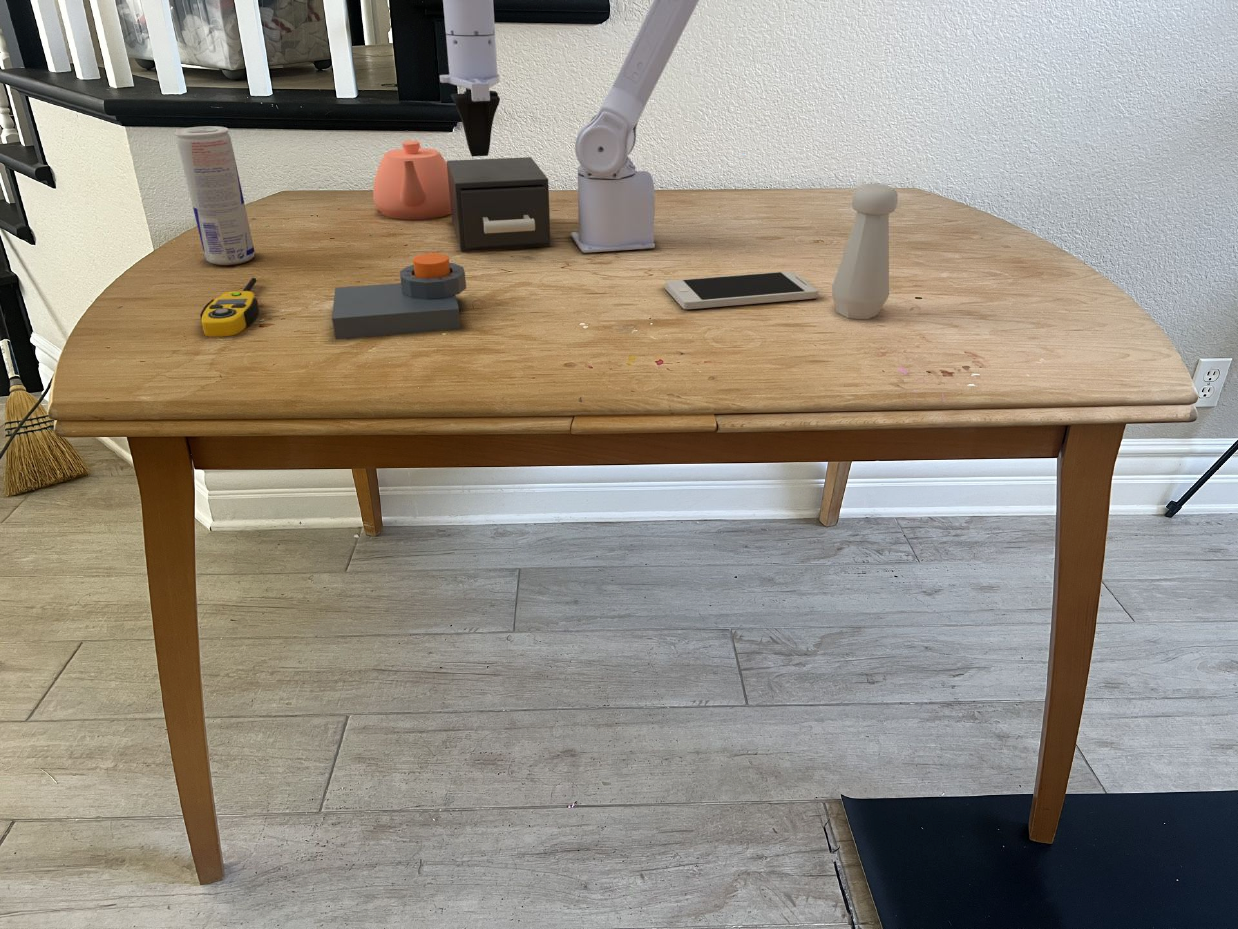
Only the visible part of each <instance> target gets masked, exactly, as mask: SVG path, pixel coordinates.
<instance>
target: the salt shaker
mask: <svg viewBox="0 0 1238 929" xmlns="http://www.w3.org/2000/svg"><path fill="white" fill-rule="evenodd" d="M898 200H899V199H898V192H897V190H896V189H895V188H894V187H892V186H890V185H886V184H882V183H865V184H861V185H859V186H857V187H856V188H855V189H854V191H853V195H852V200H851V206H852V209H853V210H854V211H856V215H855V218H854V220H853V224H852V226H851V230H850V234H849V236H848V240H847V243H846V246H845V247H844V251H843V254H842V257H841V259H840V263H839V265H838V268H837V271H836V274H835V277H834V280H833V283H832V286H831V296H832V300H833V304H834V307H835V310H836V313H837V314H839V315H841V316H843V317H845V318H847V319H855V320H869V319H871V318H874V317H876V316H878V314H879V313H880V311H881V310H882V309H883V307H884V305H885V304H886V302H887V301H888V299H889V296H890V221H889V220H890V214H891V213H893V212H895V211H896V209H897V205H898V202H899V201H898Z"/></svg>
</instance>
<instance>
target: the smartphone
mask: <svg viewBox="0 0 1238 929" xmlns="http://www.w3.org/2000/svg"><path fill="white" fill-rule="evenodd" d="M664 289H665V290H666V291H667V292H668V293H669V295H670V296H671V297H673V299H674V300H675V301H676V302H677V303H678V304H679V306H680V307H681V308H682V309H683V310H694V309H695V310H697V309H706V308H707V309H708V308H719V307H729V306H730V307H731V306H742V305H743V306H744V305H753V304H754V305H755V304H765V303H776V302H789V301H798V300H799V301H800V300H801V301H802V300H810V299H812V300H813V299H817V298H818V295H819V290H818V289H817V288H816V287H814V286H813V285H812V284H810V283H809V282H808V281H806V280H805V279H804V278H802V277H801V276H800V275H798V274H797V273H796V272H794V271H791V270H787V271H774V272H773V271H772V272H762V273H749V274H748V273H747V274H735V275H723V276H710V277H698V278H696V277H695V278H685V279H673V280H665V284H664Z"/></svg>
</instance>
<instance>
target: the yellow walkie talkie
mask: <svg viewBox="0 0 1238 929" xmlns="http://www.w3.org/2000/svg"><path fill="white" fill-rule="evenodd" d="M256 283H257V278H256V277H251V278H250V279H249V282H248V283H247V284H246V285H245V287H244V288H243V290H238V291H237V290H234V291H227V292H224V293H222V294H221V295H219V296H217V297H216V298H215V299H214V298H212V299H211V300H210V301H208V302H207V303H206V305H205V306H203V308H202V310H201V312H200V315H199V316H200V322H201V327H202V330H203V333H204V335H205V336H206V337H211V338H217V337H218V338H219V337H221V338H222V337H223V338H224V337H232V336H235V335H237V334H239V333H241V332H242V331H244V330H245V329H247V328H249V327H251V325H252V324H254V322H255V321H256V320H257V318H258V315H259V306H258V305H259V302H258V299H257V298H256V296H255V293H254V292H253V291H251V290H252V289H253V287H254V286H255V284H256Z"/></svg>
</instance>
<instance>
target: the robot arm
mask: <svg viewBox="0 0 1238 929" xmlns="http://www.w3.org/2000/svg"><path fill="white" fill-rule="evenodd" d="M699 1H700V0H652V2H651V4H650V6H649V9H648V11H647V13H646V15H645V17H644V19H643V21H642V23H641V25H640V27H639V30H638V32H637V33H636V36H635V38H634V40H633V41H632V44H631V46H630V48H629V50H628V52H627V54H626V56H625V58H624V60H623V63H622V65H621V66H620V69H619V71H618V74H617V75H616V77H615V79H614V82H613V83H612V86H610V90H609V91H608V93H607V95H606V96H605V98H604V99H603V102H602V103H601V106H600V107H599V109H598V112H597V113H596V114H595V115H594V116H593V117H592V118H591V119H590V121H589V122H588V123H587V124H585V125H584V126H583V127H582V128H581V129H580V131H578V134H577V135H576V139H575V144H574V152H575V157H576V159H577V161H578V163H579V166H578V167H577V212H578V213H577V214H578V215H577V218H578V222H577V223H578V231H572V232H570V237H571V238H572V240H573V242H575V244H576V245H577V247H578V248H579V250H580V251H581V253H584V254H585V253H587V254H588V253H601V252H602V253H603V252H616V251H618V252H619V251H631V250H633V251H634V250H646V249H648V250H649V249H655V248H656V244H655V242H654V240H655V239H654V238H655V210H656V209H655V208H656V207H655V206H656V194H655V192H656V191H655V183H654V180H653V176H652V174H651V172H649V171H647V170H637V169H636V168H637V166H636V165H635V164H634V163H633V162H632V159H631V158H630V157H629V155H630V154H631V153H632V152H633V150H634V148H635V146H636V141H637V128H638V127H637V126H638V124H639V122H640V119H641V117H642V116H643V113H644V111H645V109H646V106H647V104H648V102H649V100H650V98H651V96H652V94H653V92H654V90H655V88H656V87H657V84H658V82H659V80H660V78H661V76H662V75H663V73H664V70H665V68H666V67H667V64H668V63H669V61H670V58H671V57H672V54H673V52H674V51H675V48H676V47H677V45H678V43H679V41H680V39H681V37H682V35H683V33H684V32H685V29H686V27H687V25H688V23H689V21H690V19H691V17H692V15H693V14H694V12H695V10H696V7H697V6H698V4H699ZM442 3H443V6H442V7H443V16H444V27H445V38H446V50H447V63H448V74H440V75H439V82H440V83H441V84H450V85H454V86H458V87H461V88H464V89H465V91H463V93H452V94H450V97H451V99H452V101H453V103H454V105H455V106H456V109H457V110H458V114H459V117H460V120H461V123H462V127H463V131H464V136H465V139H466V142H467V143H466V144H467V147H468V151H469V153H470V156H471V157H488V156H489V152H490V147H491V140H492V139H491V138H492V130H493V129H492V128H493V123H494V118H495V115H496V112H497V109H498V107H499V104H500V102H501V98H500V96H499V93H498V92H497V91H496V90H490V89H491V88H492V87H494V86H496V85H497V84H499V83H500V75H499V73H498V59H497V58H498V57H497V44H496V27H495V11H494V10H495V9H494V0H442Z"/></svg>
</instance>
